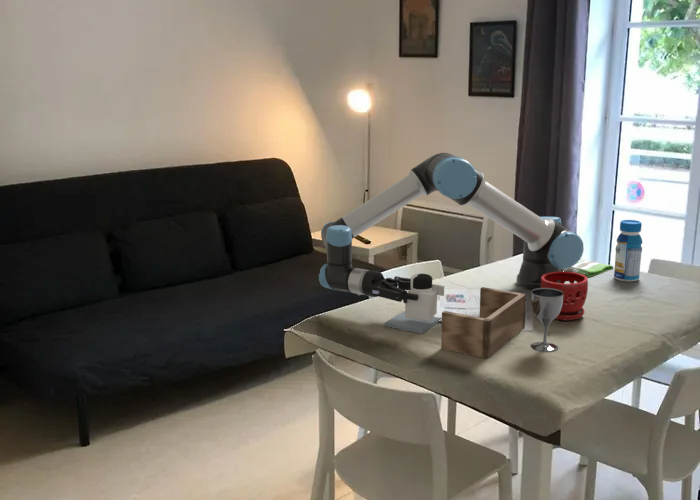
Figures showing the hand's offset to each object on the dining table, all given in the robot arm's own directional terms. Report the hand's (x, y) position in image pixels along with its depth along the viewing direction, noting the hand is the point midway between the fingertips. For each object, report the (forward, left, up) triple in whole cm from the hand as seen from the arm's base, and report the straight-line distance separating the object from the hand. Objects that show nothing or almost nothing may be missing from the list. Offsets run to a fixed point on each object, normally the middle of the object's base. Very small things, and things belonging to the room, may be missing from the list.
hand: (436, 294), depth 206 cm
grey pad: (-7, -3, -10) cm, 13 cm away
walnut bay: (+12, +7, -10) cm, 18 cm away
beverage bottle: (-7, +84, -10) cm, 85 cm away
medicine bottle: (-4, -2, -7) cm, 9 cm away
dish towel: (-28, +80, -11) cm, 85 cm away
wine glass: (+25, +17, -10) cm, 32 cm away
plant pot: (+10, +38, -10) cm, 41 cm away
